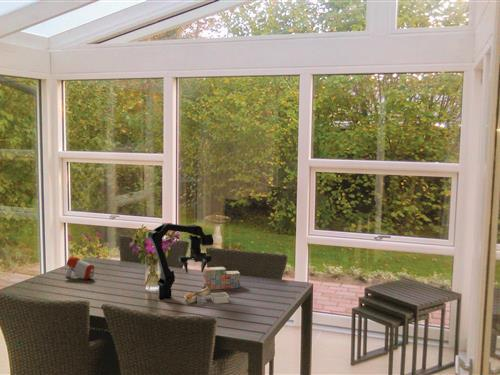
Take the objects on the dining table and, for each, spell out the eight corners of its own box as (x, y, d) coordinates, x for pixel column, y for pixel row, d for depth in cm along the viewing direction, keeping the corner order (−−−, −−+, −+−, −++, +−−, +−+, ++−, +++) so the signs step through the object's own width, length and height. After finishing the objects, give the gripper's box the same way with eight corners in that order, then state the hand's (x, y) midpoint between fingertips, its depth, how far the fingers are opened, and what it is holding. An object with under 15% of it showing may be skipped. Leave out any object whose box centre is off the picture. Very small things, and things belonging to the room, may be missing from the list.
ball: (187, 301, 283) (185, 295, 283) (186, 299, 287) (184, 293, 286) (193, 298, 284) (191, 293, 284) (192, 296, 288) (190, 291, 287)
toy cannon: (87, 287, 322) (92, 266, 319) (62, 276, 328) (66, 255, 326) (94, 285, 328) (98, 264, 325) (69, 274, 334) (73, 253, 331)
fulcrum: (195, 305, 282) (195, 297, 281) (192, 299, 291) (192, 292, 290) (204, 304, 283) (204, 296, 283) (200, 299, 292) (201, 291, 291)
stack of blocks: (237, 285, 321) (238, 265, 320) (240, 288, 315) (240, 268, 314) (203, 287, 315) (203, 267, 314) (205, 290, 309) (205, 270, 308)
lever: (187, 304, 282) (185, 299, 282) (183, 296, 295) (181, 291, 294) (211, 294, 285) (210, 289, 285) (206, 287, 298) (205, 282, 298)
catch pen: (214, 303, 285) (214, 297, 285) (211, 298, 293) (211, 293, 293) (229, 302, 287) (229, 296, 287) (225, 297, 296) (225, 292, 295)
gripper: (183, 250, 289) (182, 277, 291) (215, 248, 297) (214, 275, 298) (178, 246, 300) (177, 272, 301) (208, 244, 307) (207, 270, 308)
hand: (194, 272), depth 302 cm, fingers open, 9 cm apart
